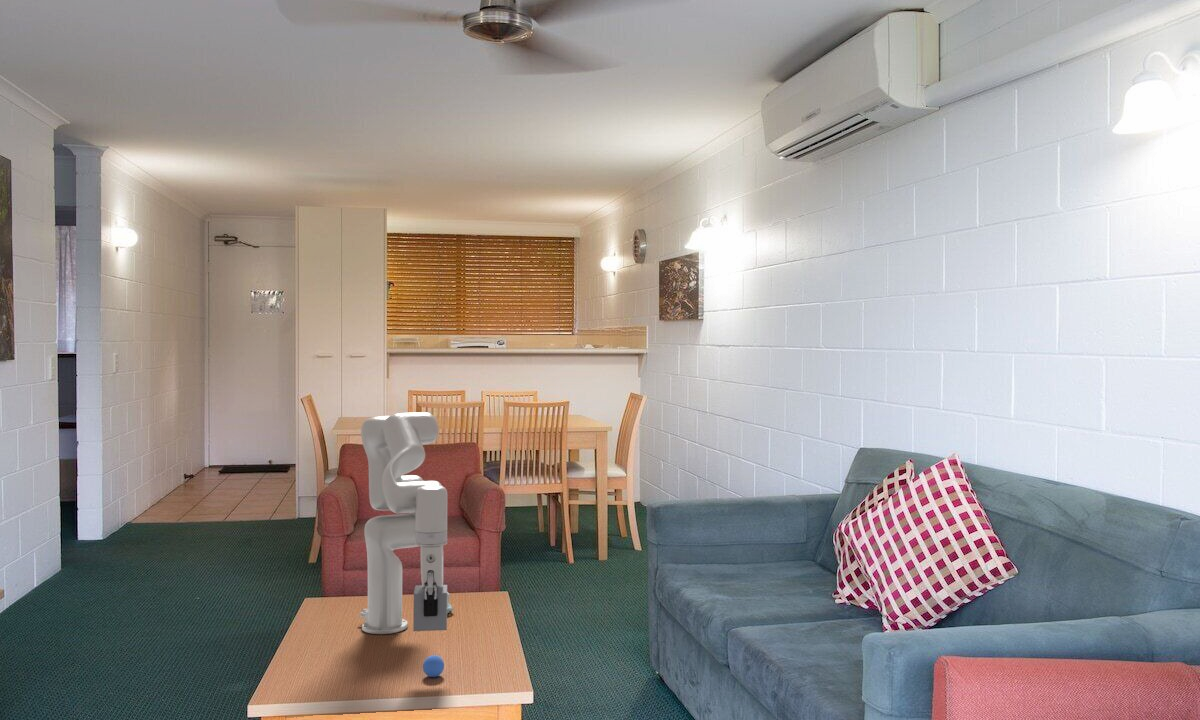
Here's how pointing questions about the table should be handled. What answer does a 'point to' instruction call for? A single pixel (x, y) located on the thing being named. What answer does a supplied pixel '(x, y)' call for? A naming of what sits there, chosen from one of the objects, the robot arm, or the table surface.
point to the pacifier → (448, 604)
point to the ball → (433, 666)
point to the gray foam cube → (430, 621)
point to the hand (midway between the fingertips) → (431, 610)
